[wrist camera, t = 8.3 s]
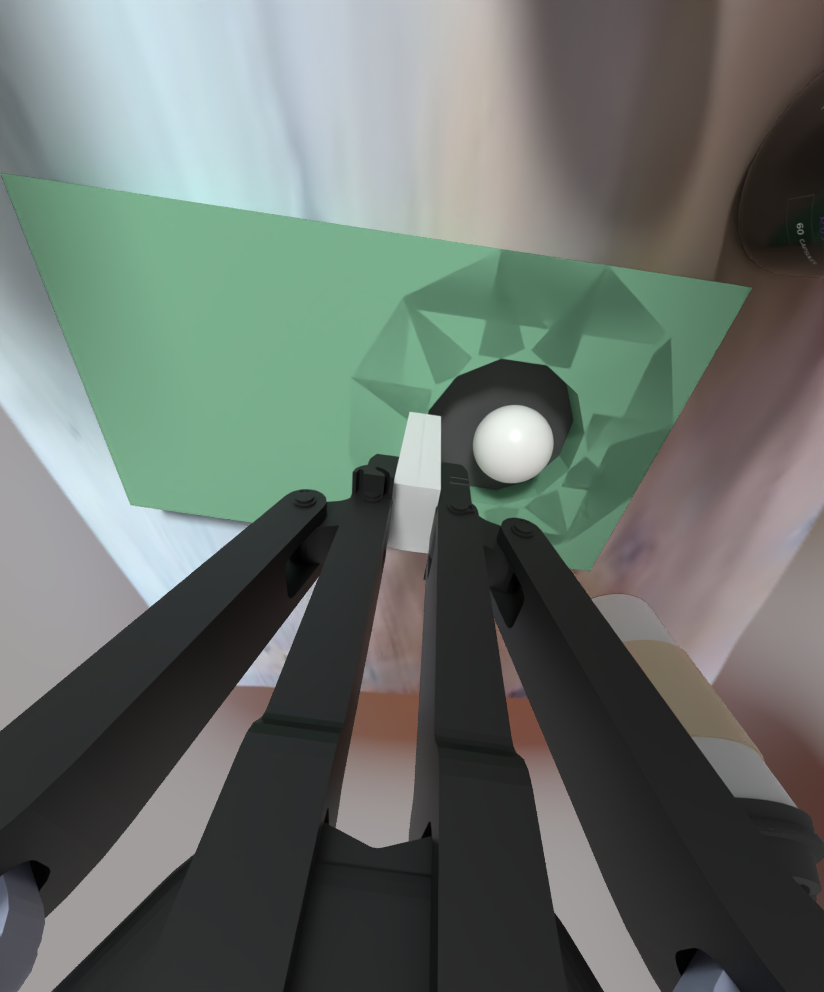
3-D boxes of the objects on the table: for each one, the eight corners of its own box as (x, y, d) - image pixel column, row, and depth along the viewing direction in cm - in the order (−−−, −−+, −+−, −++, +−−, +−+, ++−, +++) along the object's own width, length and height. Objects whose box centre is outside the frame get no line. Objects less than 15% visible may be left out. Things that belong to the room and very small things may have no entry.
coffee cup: (528, 639, 30) (589, 903, 18) (591, 570, 25) (738, 866, 13) (618, 665, 31) (738, 931, 19) (695, 603, 26) (926, 907, 14)
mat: (48, 183, 15) (0, 172, 14) (719, 285, 16) (752, 287, 14) (152, 488, 24) (130, 505, 22) (579, 550, 24) (589, 571, 23)
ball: (496, 419, 15) (581, 429, 16) (476, 389, 18) (547, 398, 19) (473, 494, 17) (548, 501, 18) (459, 456, 21) (523, 462, 21)
